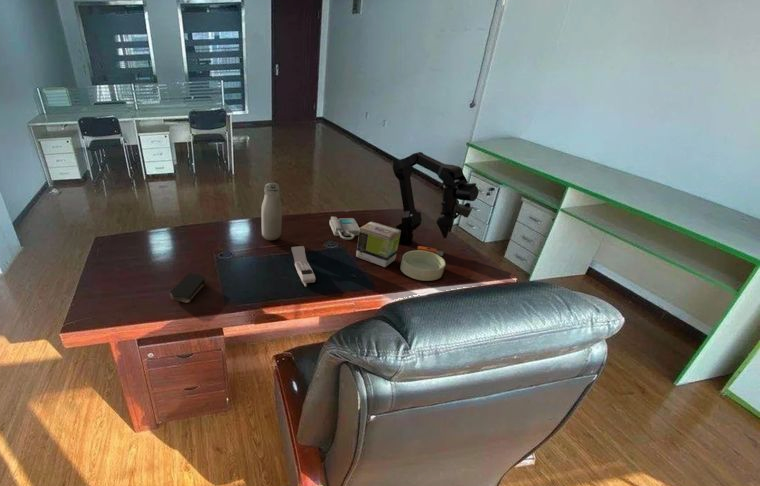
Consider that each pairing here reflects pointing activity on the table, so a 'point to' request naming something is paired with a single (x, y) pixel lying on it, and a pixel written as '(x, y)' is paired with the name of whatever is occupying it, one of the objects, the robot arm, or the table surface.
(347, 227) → the intercom
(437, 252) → the knife
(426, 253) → the bowl
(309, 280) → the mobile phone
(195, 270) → the table surface
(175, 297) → the black sponge
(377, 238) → the tea box
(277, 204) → the white water bottle
